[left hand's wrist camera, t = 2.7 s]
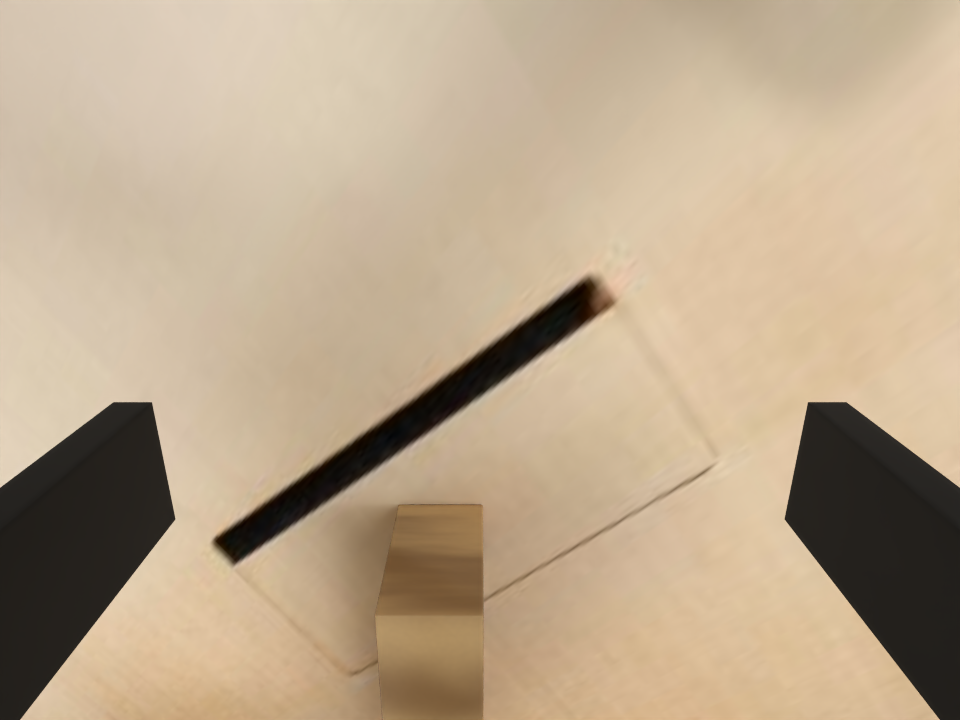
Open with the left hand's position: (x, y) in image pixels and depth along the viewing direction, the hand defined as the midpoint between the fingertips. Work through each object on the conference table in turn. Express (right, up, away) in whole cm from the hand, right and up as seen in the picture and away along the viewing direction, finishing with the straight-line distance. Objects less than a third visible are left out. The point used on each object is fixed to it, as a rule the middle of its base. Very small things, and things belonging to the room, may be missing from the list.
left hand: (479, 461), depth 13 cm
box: (-3, -18, +34) cm, 38 cm away
